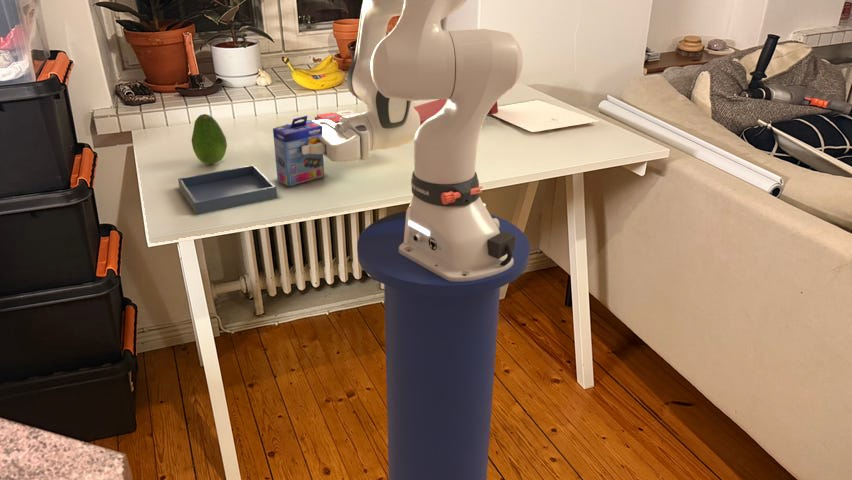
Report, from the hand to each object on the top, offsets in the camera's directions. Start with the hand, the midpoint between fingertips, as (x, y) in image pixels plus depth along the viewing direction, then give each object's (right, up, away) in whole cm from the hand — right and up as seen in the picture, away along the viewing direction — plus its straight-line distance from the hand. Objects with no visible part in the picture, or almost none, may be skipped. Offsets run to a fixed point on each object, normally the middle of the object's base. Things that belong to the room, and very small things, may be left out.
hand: (295, 145), depth 153 cm
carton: (+38, +16, +44) cm, 60 cm away
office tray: (-14, -11, -2) cm, 18 cm away
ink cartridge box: (+1, -7, +4) cm, 8 cm away
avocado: (-21, -2, +14) cm, 26 cm away
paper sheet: (+62, +15, +42) cm, 76 cm away
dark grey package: (+9, +9, +33) cm, 36 cm away
